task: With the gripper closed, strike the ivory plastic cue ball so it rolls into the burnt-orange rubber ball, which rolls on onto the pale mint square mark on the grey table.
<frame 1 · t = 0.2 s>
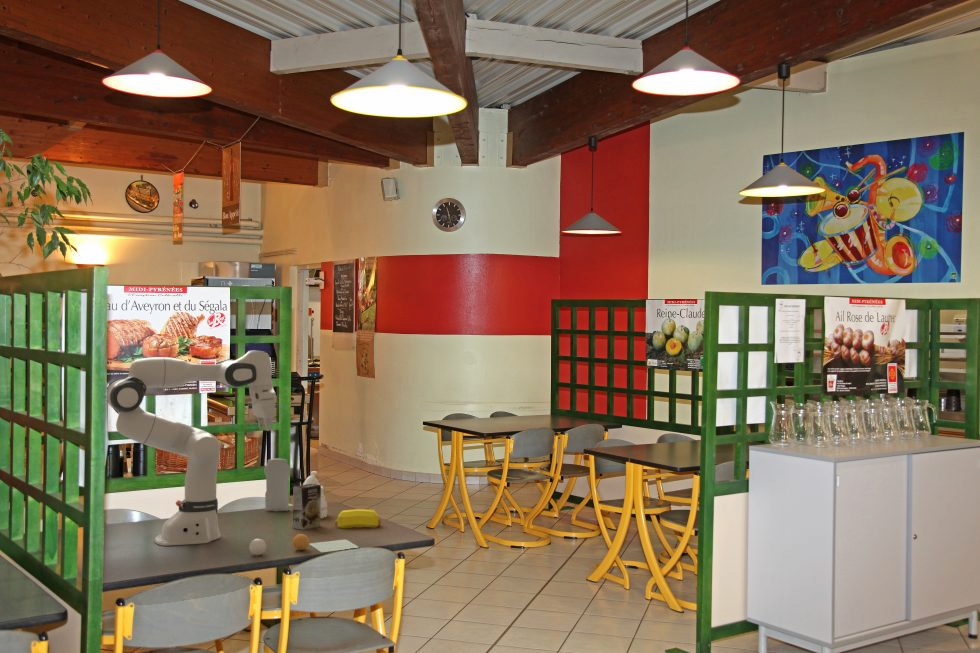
hand: (265, 429, 338), 39 cm above the table, tool pointing down, fingers open, 8 cm apart
cue ball: (257, 546, 303), on the table
tall pale column: (276, 510, 378), on the table
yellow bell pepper: (358, 527, 348), on the table
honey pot: (311, 516, 367), on the table
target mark: (334, 546, 316), on the table
object ball: (301, 542, 311), on the table
coffee box: (306, 527, 347), on the table
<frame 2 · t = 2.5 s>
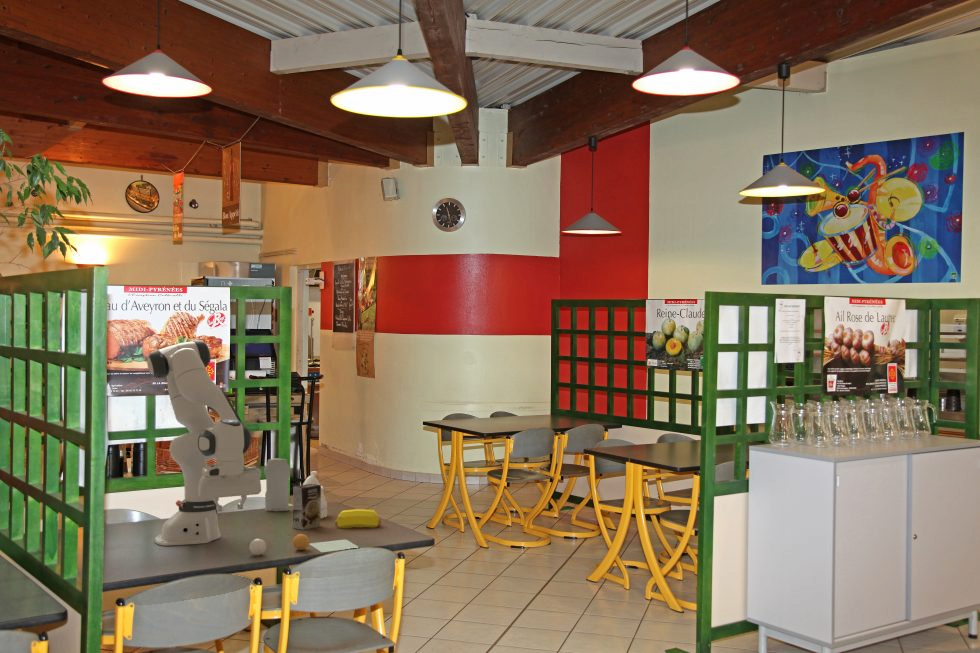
hand: (229, 509, 299), 16 cm above the table, tool pointing down, fingers open, 5 cm apart
nothing on the table moved.
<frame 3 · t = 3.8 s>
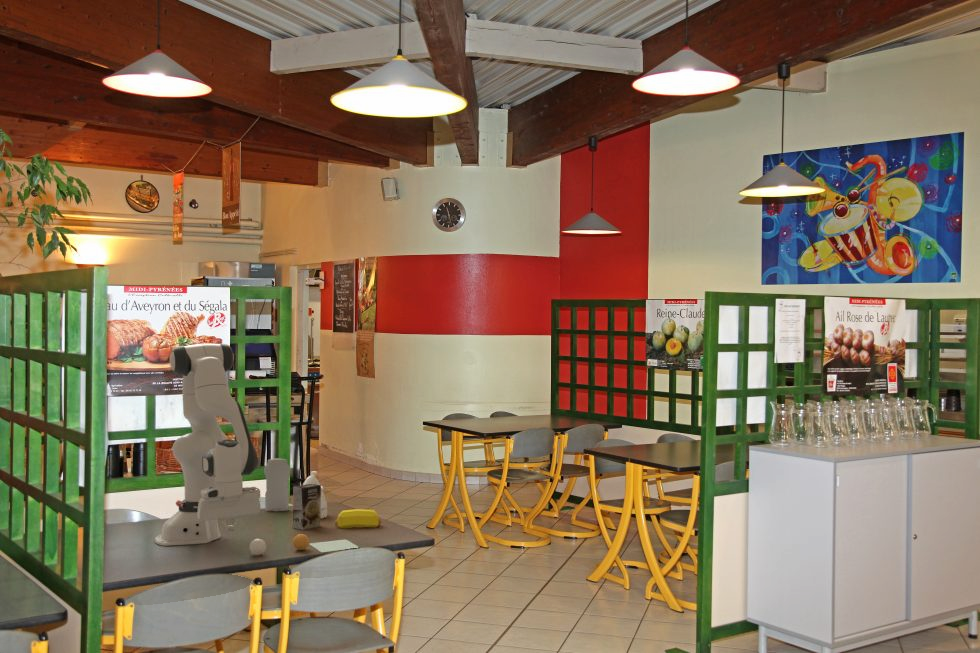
hand: (230, 531, 298), 9 cm above the table, tool pointing down, fingers closed
nothing on the table moved.
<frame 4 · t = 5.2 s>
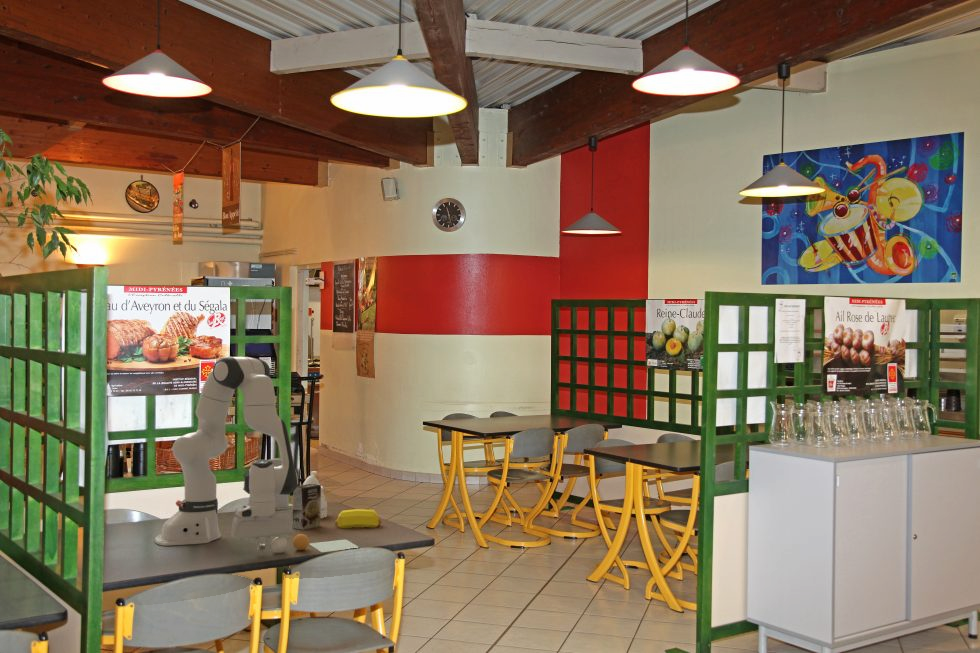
hand: (262, 549, 303), 2 cm above the table, tool pointing down, fingers closed
cue ball: (279, 544, 306), on the table
everything else where it was.
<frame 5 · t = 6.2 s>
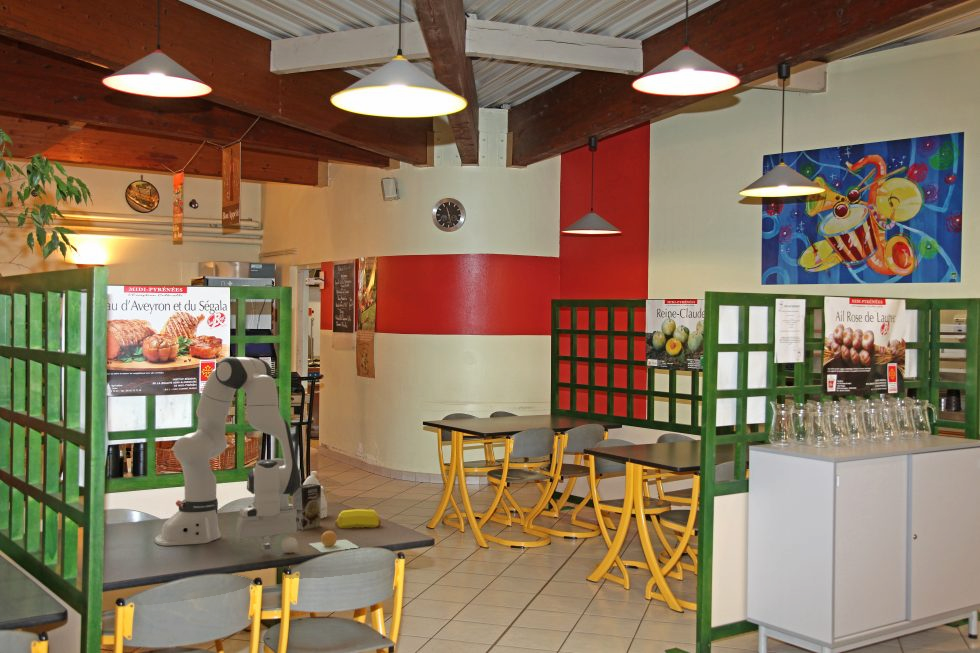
hand: (266, 549, 305), 2 cm above the table, tool pointing down, fingers closed
cue ball: (289, 544, 306), on the table
object ball: (329, 538, 316), on the table
everything else where it was.
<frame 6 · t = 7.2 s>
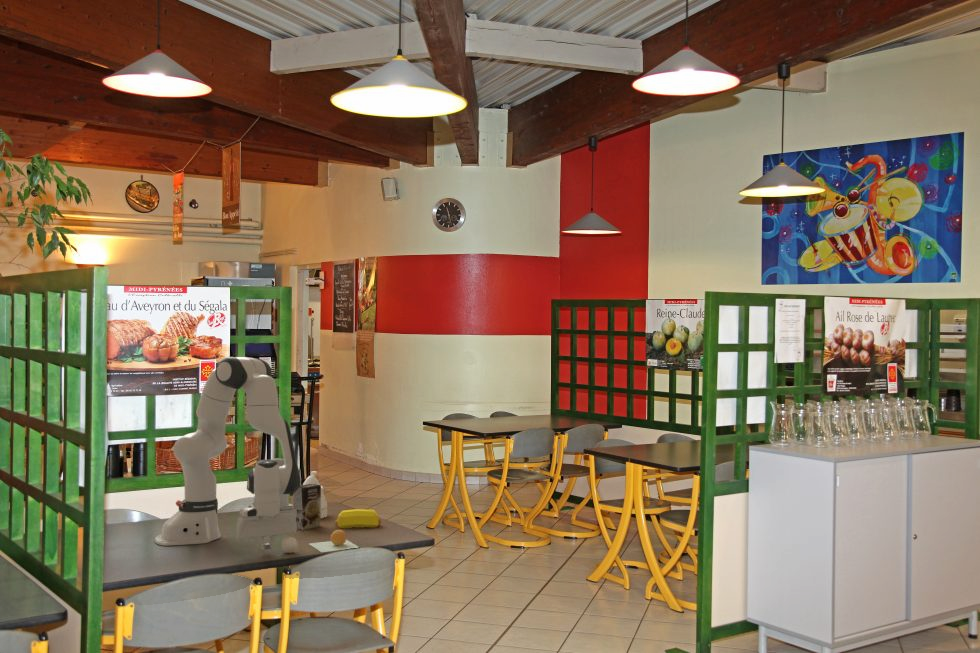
hand: (266, 549, 305), 2 cm above the table, tool pointing down, fingers closed
object ball: (338, 537, 318), on the table
everything else where it was.
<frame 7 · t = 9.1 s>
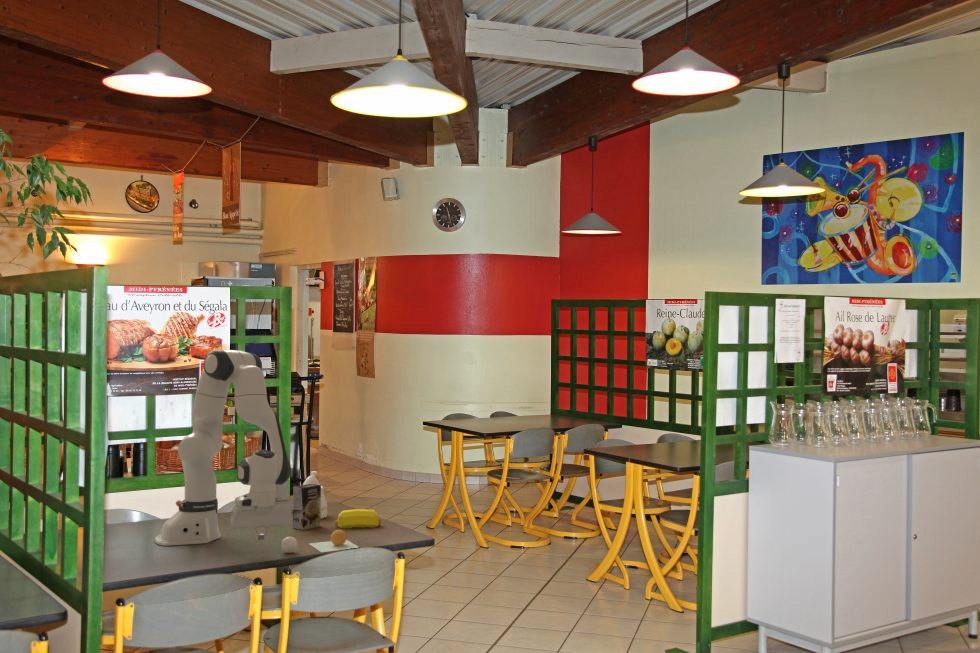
hand: (260, 539, 304), 5 cm above the table, tool pointing down, fingers closed
nothing on the table moved.
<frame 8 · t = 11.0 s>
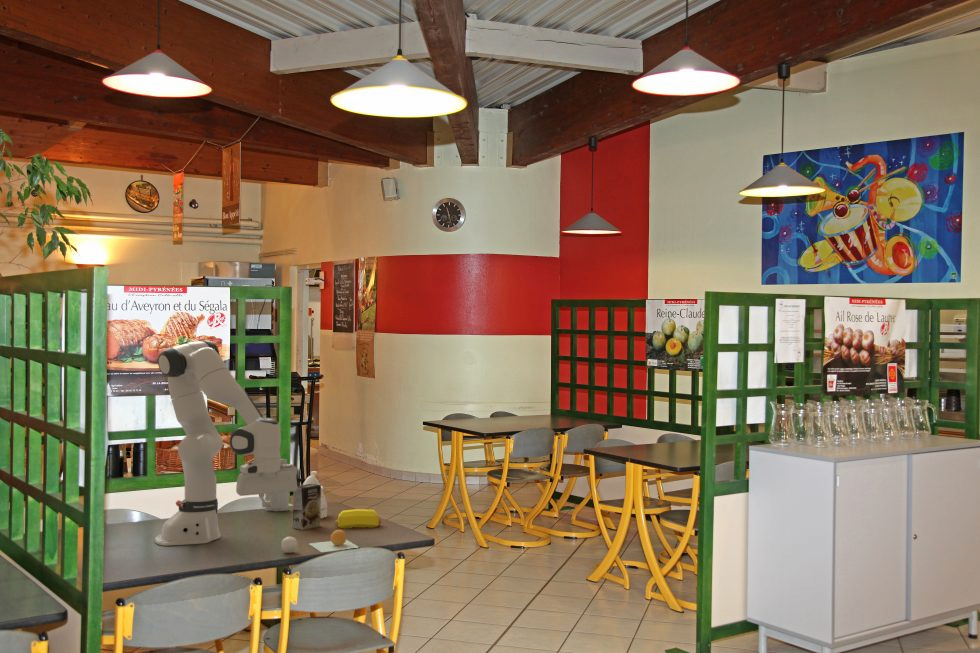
hand: (267, 506, 305), 16 cm above the table, tool pointing down, fingers closed
nothing on the table moved.
at the end: object ball 1.8 cm from the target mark (horizontally); object ball never touched the robot; cue ball first touched object ball at 5.3 s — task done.
